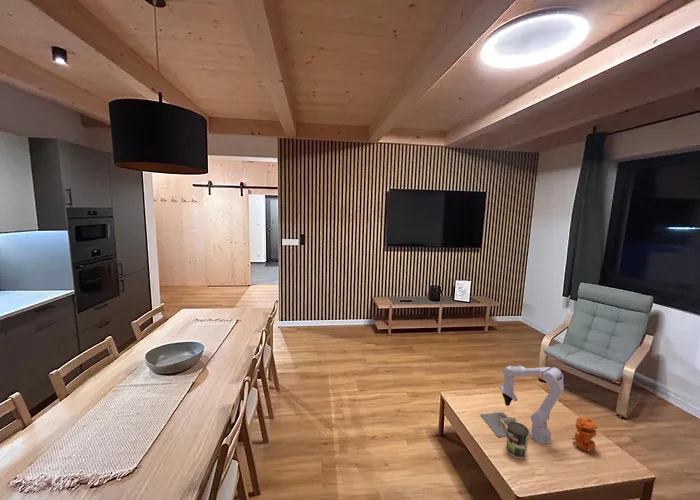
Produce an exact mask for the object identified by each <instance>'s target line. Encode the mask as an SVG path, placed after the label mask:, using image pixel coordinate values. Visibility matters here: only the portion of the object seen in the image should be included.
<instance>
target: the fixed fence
mask: <svg viewBox="0 0 700 500" xmlns="http://www.w3.org/2000/svg"><path fill="white" fill-rule="evenodd" d="M499 425H500V426H501V427H502V428H503V430H504V431H505V432H506V433H507V431H508V426H507V425H506V424H505V423H504V422H503V420H502V417H499Z"/></svg>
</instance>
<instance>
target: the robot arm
mask: <svg viewBox="0 0 700 500" xmlns="http://www.w3.org/2000/svg"><path fill="white" fill-rule="evenodd" d="M502 374H503V377H504V378H503V384H502V385H501V384H500V385H499V389H500V390H501V391H502V393H501V395H502V397H503V399H504V404H505V406H507V407H508V406H510V404H511V403H512V401H513V402H518V397H517V396H516V394H515V393H516V392H515V390H514V389H515V377H527V376H529V375H532V376H538V377H540V378H541V379H543V380H544V381H545V383H546V384H547V385H548V387H549V388H550V390H549V392H548V394H546V397H544V398H545V399H544V400H543V402H542V404H541V405H540V407H539V408H537V410H536V411H535V412H534V413H533V414H531V415H530V421H531V423H532V424H531V431H530V430H529V436H530V437H532V438H533V440H535V442H536V443H537V444H538V445H543V444H552V441H551V437H552V436H551V435H552V432H551V430H550V429H549V428H548V421H549V419H550V414H551V411H552V409H553V407H554V406H555V405H556V403H557V401H559V399H560V397H561V396H562V394H563V392H564V391H565V390H564V389H565V386H564V375H563V373H562V371H561V370H560V369H559V368H557V367H553V366H552V367H549V366H546V367H545V366H543V367H529V368H526V367H525V366H523V365H517V366H516V365H515V366H514V365H508V366H506V367H504V368H503V369H502Z"/></svg>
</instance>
